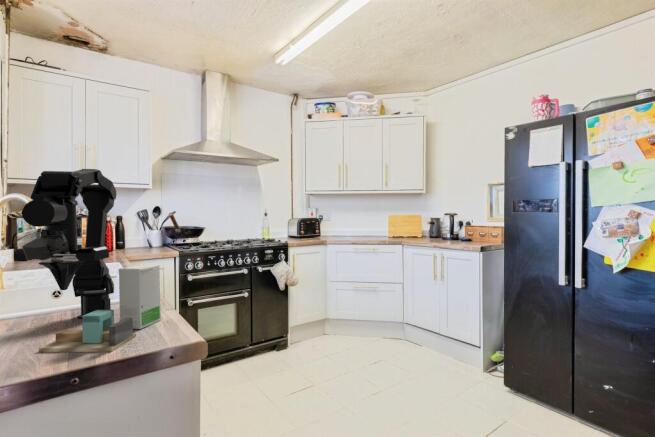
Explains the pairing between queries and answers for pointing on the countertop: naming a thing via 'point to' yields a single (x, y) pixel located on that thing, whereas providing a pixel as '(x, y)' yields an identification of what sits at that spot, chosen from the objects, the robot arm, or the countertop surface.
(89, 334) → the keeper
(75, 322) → the countertop surface
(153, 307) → the skincare box
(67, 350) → the board
